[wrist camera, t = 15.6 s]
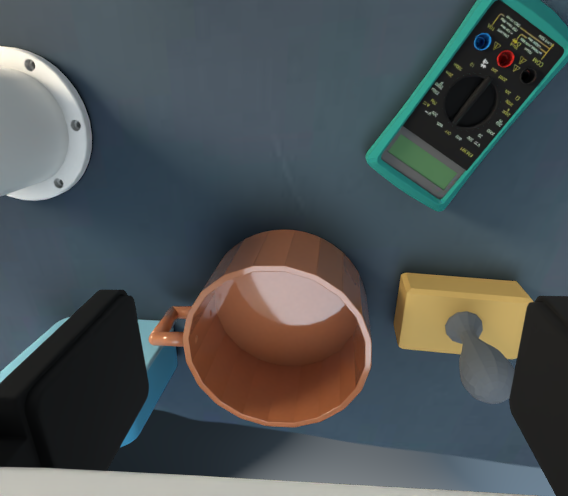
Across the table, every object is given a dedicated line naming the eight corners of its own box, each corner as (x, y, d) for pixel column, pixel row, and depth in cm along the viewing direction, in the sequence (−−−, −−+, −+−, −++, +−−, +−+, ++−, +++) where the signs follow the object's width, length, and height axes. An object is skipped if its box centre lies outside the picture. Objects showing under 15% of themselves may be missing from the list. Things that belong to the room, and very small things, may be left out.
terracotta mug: (366, 228, 38) (373, 265, 30) (365, 369, 43) (370, 431, 36) (163, 231, 40) (124, 266, 33) (185, 365, 45) (155, 421, 38)
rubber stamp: (392, 327, 41) (412, 420, 30) (401, 270, 39) (425, 349, 28) (504, 337, 40) (567, 438, 29) (518, 280, 38) (593, 365, 27)
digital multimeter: (572, 40, 31) (595, 37, 28) (433, 208, 36) (441, 218, 34) (490, -22, 30) (505, -32, 28) (361, 158, 36) (362, 165, 33)
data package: (72, 351, 46) (-12, 438, 35) (64, 314, 45) (-26, 392, 34) (182, 358, 45) (131, 451, 34) (178, 320, 43) (122, 404, 32)
